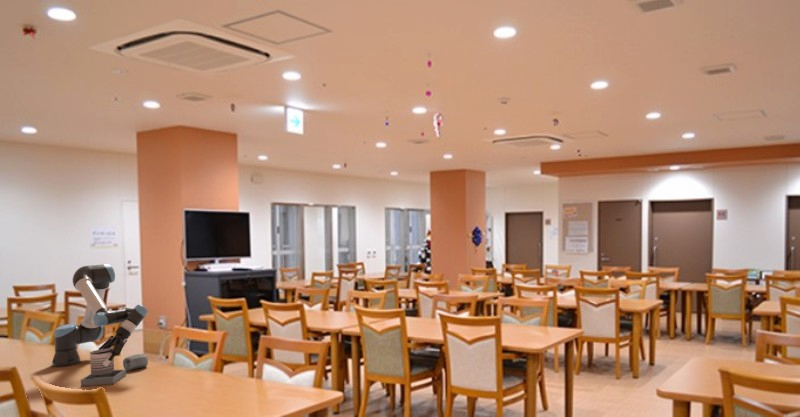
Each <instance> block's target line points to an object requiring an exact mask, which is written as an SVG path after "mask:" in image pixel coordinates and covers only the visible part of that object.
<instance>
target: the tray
mask: <svg viewBox="0 0 800 417" xmlns="http://www.w3.org/2000/svg"><path fill="white" fill-rule="evenodd" d="M126 376H127V371H126V370H125V369H114V371H113V372H110V373H106V374H99V375H93V374H91V373H89V374H88V375H86V376H85V377H83V378H80V387H91V386H110V385H109V384H113V385H115V384H116V383H117V381H118V382H120V381H121V380H122V379H123V377H124V378H125V377H126ZM120 379H121V380H120Z"/></svg>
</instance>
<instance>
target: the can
mask: <svg viewBox="0 0 800 417" xmlns="http://www.w3.org/2000/svg"><path fill="white" fill-rule="evenodd" d="M113 349H114V347H111V348H107V349H100V350H98V349H97V350H93V351H90V352H89V356H90V361H89V362H90V374H93V375H99V374H106V373H110V372H113V371H114V370H115V357H114V358H113V359H112V361H111V362H110V363H109V365H108V366H107V367H106V366H104V365H103V362H104V361H105V360H106V359H107V357H108V356H109V355H110V354H112V353H111V352H113Z"/></svg>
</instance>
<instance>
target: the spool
mask: <svg viewBox="0 0 800 417" xmlns="http://www.w3.org/2000/svg"><path fill="white" fill-rule="evenodd" d="M148 364H149V359H148V356H147V355H146V354H145V353H138V354H133V355H130V356H127V357H125V358H123V361H122V365H123V368H124V369H123V370H126V372H130V371H133V370H137V369H143V368H146V367H147V366H148Z"/></svg>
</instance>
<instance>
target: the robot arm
mask: <svg viewBox="0 0 800 417" xmlns="http://www.w3.org/2000/svg"><path fill="white" fill-rule="evenodd" d="M115 272H116V271H115V270H114V268H113V265H111V264H107V263H105V264H104V263H102V264H95V265H83V266H81V267H79V268H78V269H76V271H75V272H74V273H73V276H72V285H73V287H74V288H75V290H76V291H78V292H80V294H81V296H82V297H83V299H84V300H85V302H86V307H85V312H84V317H83V319H81V320H80V323H79V324H78V325H76V324H75V323H69V324H64V325H61V326H58V327H56V328H55V329H54V333H53V334H54V335H53V337H54V355H53V359H52V362H51V366H52V367H54V368H55V367H57V368H58V367H60V368H62V367H69V366H73V365H77V364H80V363H81V357H80V356H81V355H80V353H79V352H78V346H77V345H81V344H87V343H93V342H96V341H99V340H100V339H101V338H102V337H103V335H104V327H105V326H110V325H114V324H120V326H119V327H118V328H117V329H116V330H115V335H114V336H113V335H111V336H110V337H109V338H108V339H107V340H106V341H105V342H104V343H103V344H102V345H101V346H100V347H99V348H98V349H97V350H100V349H107V348H114V349H112V350H113V352H111V353H112V354H110V355H109V356H108V357H107V359H106V360H105V361H104V362H103V365H104V366H106V367H107V366H108V365H109V363H110V362H111V361H112V359H113V358H114V359H115V357H116V356H120V354H121V352H122V350H123V348H124V346H125V345H126V344H127V342H128V339H129V338H130V337H131V335H132V334H133V332H135V331H136V328H137V327H139V325H140V323H141V322H142V321H143V320H144V319H145V317H146V315H147V314H148V311H149V310H148V309H147V307H145V306H144V305H142V304H136V305H135V306H134V307H133V308H130V307H123V308H120V309H116V310H115V309H114V310H110V309H109V307H108V306H107V304H106V303H105V301H104V298H105V294H106V291H107V290H106V289H108V288H109V286H110V284H111V283H113V282H115V280H116V273H115Z"/></svg>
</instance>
